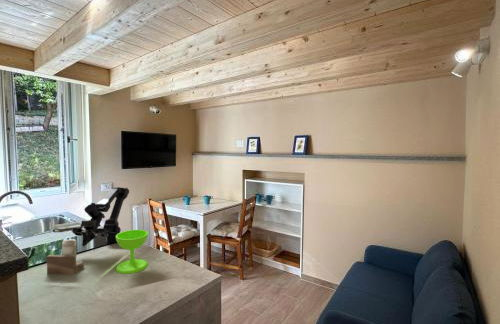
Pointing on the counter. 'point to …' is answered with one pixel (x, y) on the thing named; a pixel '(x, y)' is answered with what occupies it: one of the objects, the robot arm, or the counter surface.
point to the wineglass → (131, 250)
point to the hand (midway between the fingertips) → (83, 245)
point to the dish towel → (66, 226)
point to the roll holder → (62, 265)
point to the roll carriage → (69, 248)
